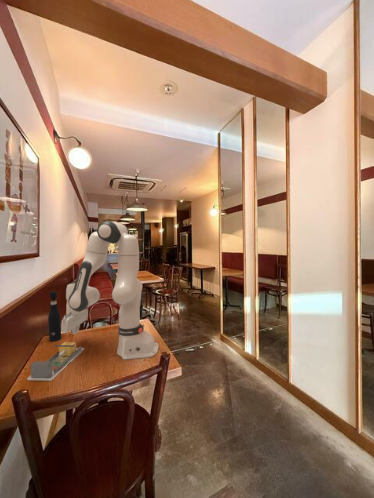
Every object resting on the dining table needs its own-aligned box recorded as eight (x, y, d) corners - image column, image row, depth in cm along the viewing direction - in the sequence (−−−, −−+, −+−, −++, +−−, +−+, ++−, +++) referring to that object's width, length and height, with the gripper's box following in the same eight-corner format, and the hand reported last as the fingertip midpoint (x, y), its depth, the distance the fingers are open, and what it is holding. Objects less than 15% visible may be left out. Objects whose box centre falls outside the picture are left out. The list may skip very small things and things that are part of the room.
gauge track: (84, 349, 117) (83, 337, 117) (51, 380, 91) (50, 365, 91) (65, 349, 118) (64, 337, 117) (27, 380, 92) (26, 364, 91)
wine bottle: (59, 336, 135) (57, 290, 134) (62, 338, 131) (60, 291, 130) (47, 339, 130) (45, 292, 129) (51, 342, 126) (49, 293, 125)
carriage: (80, 350, 113) (79, 341, 113) (69, 360, 104) (69, 349, 104) (61, 350, 114) (61, 341, 114) (49, 359, 105) (49, 349, 105)
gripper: (69, 316, 109) (69, 342, 109) (89, 304, 129) (90, 326, 129) (57, 316, 109) (57, 342, 109) (79, 304, 129) (80, 326, 130)
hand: (75, 333), depth 120 cm, fingers closed
